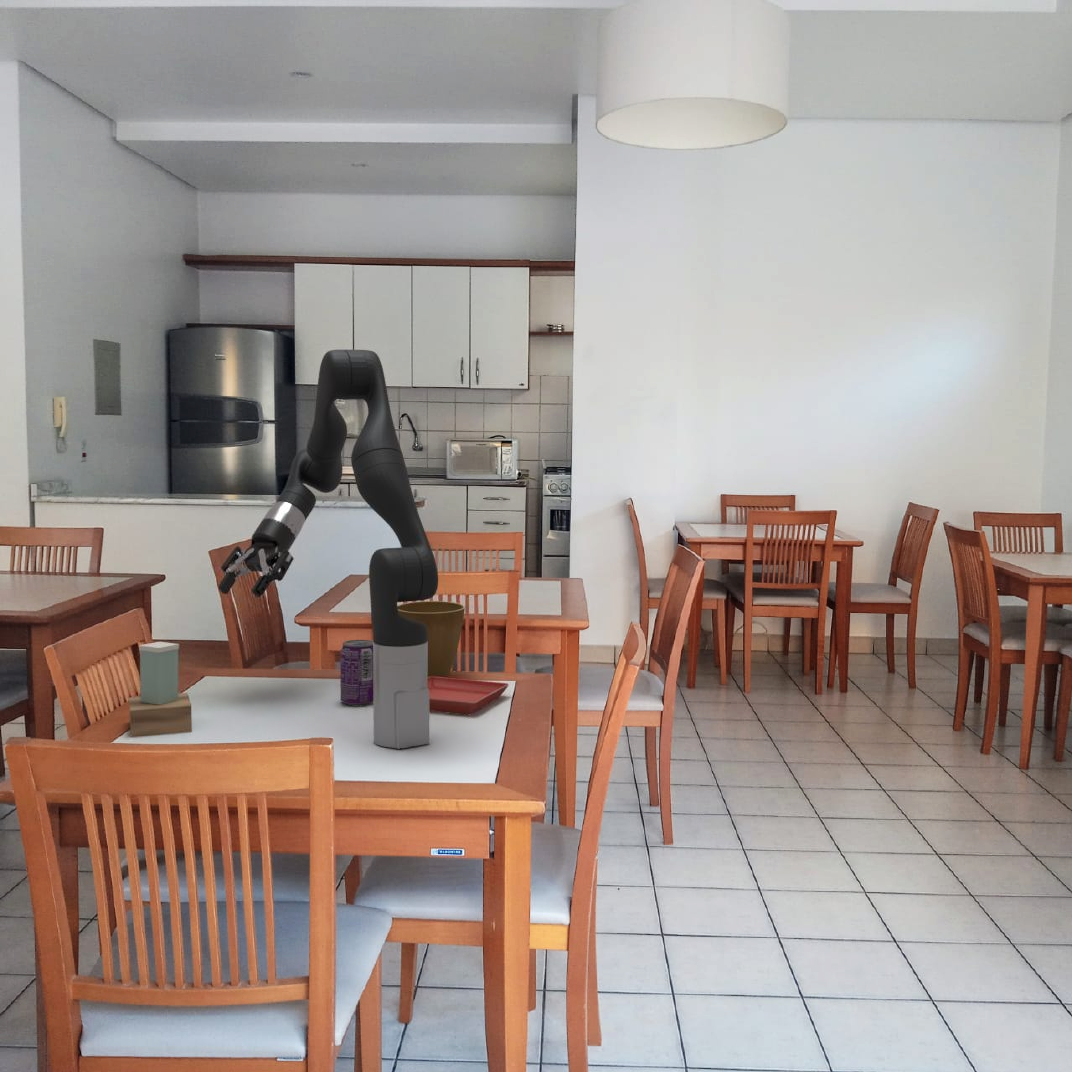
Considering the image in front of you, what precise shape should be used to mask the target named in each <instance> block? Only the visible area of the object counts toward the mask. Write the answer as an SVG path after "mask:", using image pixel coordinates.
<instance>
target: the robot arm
mask: <svg viewBox="0 0 1072 1072" xmlns="http://www.w3.org/2000/svg"><path fill="white" fill-rule="evenodd" d="M337 400H341V401H345V400H346V401H348V400H352V401H353V400H354V401H355V400H363V401H365V403H366V404H367V411H368V412H367V416H366V420H365V422H364V425H363V426H362V429H361V431H360V433H359V435H358V437H357V438H356V440H355V443H354V446H353V448H352V452H351V455H350V456H351V457H350V461H351V467H352V471H353V475H354V479H355V484H356V488H357V490H358V492H359V494H360V496H361V498H363V500H364V501H365V503H366V504H368V506H369V507H370V508H371V509H372V510H373V511H374V512H375V513H376V514H377V515H379V517H380V518H381V519H382V520H384V522H386V524H387V525H388V526H389V528H391V530H392V531H393V533H394V534H395V536H396V538H397V539H398V541H399V544H400V547H385V548H379V549H376V550H375V551H374V552H373V553H372V555H371V557H370V562H369V567H368V577H369V578H368V581H369V595H370V596H369V597H370V621H371V628H372V641H373V702H372V703H373V707H372V708H373V711H372V712H373V714H372V715H373V716H372V717H373V718H372V719H373V743H374V744H375V745H378V746H381V747H384V748H385V747H386V748H393V749H396V748H402V749H406V748H408V749H409V748H412V746H413V747H418V746H422V745H427V744H428V745H429V744H430V711H429V689H428V630H427V626H426V625H425V624H423V623H421V622H418V621H415V620H411V619H408V618H405V617H403V616H402V615H400V614H399V612H398V603H410V602H420V601H428V600H430V599H432V598H433V597H434V596H435V595H436V593H437V591H438V587H439V572H438V566H437V562H436V558H435V555H434V552H433V550H432V547H431V545H430V542H429V539H428V536H427V534H426V531H425V528H424V525H423V523H422V520H421V517H420V515H419V511H418V508H417V506H416V501H415V498H414V495H413V490H412V487H411V482H410V478H409V474H408V469H407V466H406V463H405V462H406V461H405V459H404V458H405V457H404V454H403V452H402V449H401V445H400V441H399V438H398V435H397V432H396V427H395V424H394V421H393V416H392V415H393V414H392V410H391V406H390V399H389V395H388V389H387V383H386V377H385V373H384V369H383V365H382V362H381V358H380V357H379V355H378V354H377V353H376V352H375V351H373V350H369V349H332V350H328V351H327V352H326V353H325V354H324V355H323V357H322V359H321V363H320V366H319V373H318V381H317V388H316V397H315V409H314V410H315V411H314V417H313V424H312V427H311V430H310V433H309V437H308V440H307V444H306V448H302V449H301V450H299V451H298V452H297V453H296V454H295V455H294V457H293V460H292V463H291V467H290V470H289V475H288V479H287V481H286V484H285V486H284V488H283V490H282V492H280V493H281V494H280V495H279V496H278V498H277V499H276V501H275V503H273V505H272V506H271V507H270V508H269V510H268V511H267V513H266V514H265V515H264V517H263V519H262V520H261V521H260V523H259V525H258V526H257V527H256V529H255V530H254V532H253V534H252V535H251V542H250V543H251V544H250V546H249V547H248V548H246V549H242V548H241V547H240V546H238V545H237V546H236V547H234V548H233V550H232V551H231V553H230V554H229V555H228V557H227V558H226V559H225V561H224V562H223V564H222V565H221V566H220V570H222V572H223V573H224V576H223V578H222V580H221V581H220V582H219V584H218V590H219V591H220V592H221V593H222V594H223V595H227V594H229V592H230V591H231V589H232V588H233V586H234V584H235V583H236V580H237V579H238V578H240V577H241V576H243V575H245V576H246V575H249V573H251V572H259V573H261V574H262V575H259V576H258V579H257V581H256V582H255V584H254V585H253V587H252V588H251V593H252V595H254V597H256V598H260V597H262V595H264V593H265V592H266V591H267V589H268V587H269V586H270V584H272V583H274V582H275V581H278V582H280V581H282V580H283V579H284V577H285V575H286V574H287V572H288V570H289V569H290V566H291V565H292V563H293V561H294V559H295V558H294V557H293V555H292V554H291V553H290V549H291V548H292V546H293V544H294V543H295V541H296V539H297V537H298V536H299V534H300V533H301V531H302V529H303V527H304V524H305V523H306V520H307V519H308V517H309V516H310V515H311V513H312V512H313V510H314V508H315V505H316V504H317V497H316V495H315V494H314V493H313V492H312V490H310V488H308V487H307V486H309V487H311V488H313V489H314V490H316V491H318V492H320V493H324V494H327V493H331V492H333V491H335V490H336V489H337V488H338V487H339V485H340V483H341V481H342V478H343V460H342V452H343V449H344V446H345V443H346V442H347V437H348V425H347V422H346V421H345V418H344V416H343V415H342V414H341V412H340V410H339V409H338V407H337V406H336V404H335V402H336V401H337ZM243 563H244V565H245V566H246V567H244V565H243ZM237 569H239V570H238V571H237ZM236 571H237V572H236Z"/></svg>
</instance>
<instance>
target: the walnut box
mask: <svg viewBox="0 0 1072 1072" xmlns="http://www.w3.org/2000/svg"><path fill="white" fill-rule="evenodd" d="M128 697H129V696H128ZM128 699H129V700H128V704H129V728H130V738H139V737H148V736H149V737H150V736H159V735H172V734H180V733H181V734H182V733H192V731H193V730H192V729H193V728H192V724H193V723H192V721H193V719H192V704H191V703H192V702H191V701H190V697H189V693H188V692H180V693H179V692H178V700H176V701H172V702H168V703H164V704H161V705H157V704H151V703H145V702H141V701H140V696H130V697H129V698H128Z"/></svg>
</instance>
